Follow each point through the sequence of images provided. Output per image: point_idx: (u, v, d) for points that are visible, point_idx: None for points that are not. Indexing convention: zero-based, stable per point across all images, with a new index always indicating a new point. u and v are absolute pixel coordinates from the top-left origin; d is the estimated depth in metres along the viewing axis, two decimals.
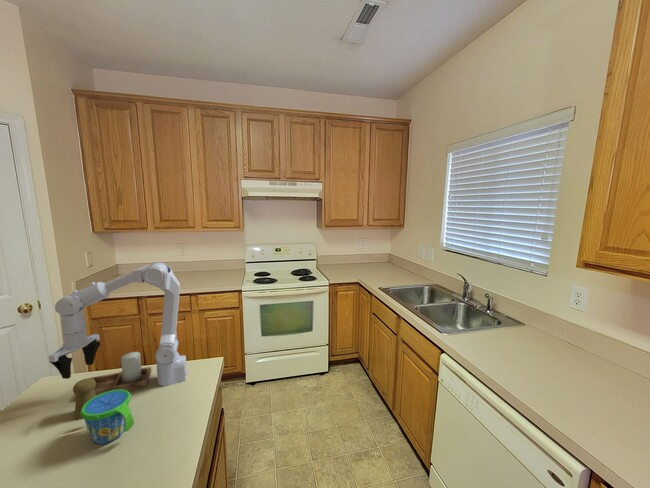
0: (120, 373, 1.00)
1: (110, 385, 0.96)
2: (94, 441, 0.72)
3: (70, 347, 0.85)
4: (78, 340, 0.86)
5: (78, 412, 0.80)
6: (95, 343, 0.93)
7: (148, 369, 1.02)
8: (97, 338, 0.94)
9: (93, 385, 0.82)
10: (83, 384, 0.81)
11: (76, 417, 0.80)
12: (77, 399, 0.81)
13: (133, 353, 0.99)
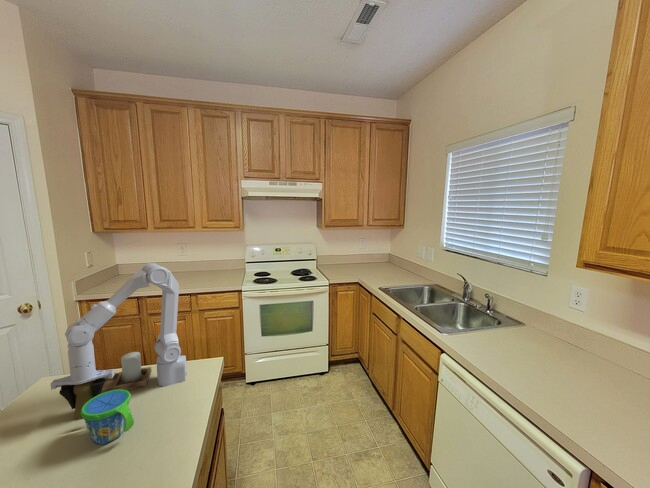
0: (120, 373, 1.00)
1: (110, 385, 0.96)
2: (94, 441, 0.72)
3: (70, 379, 0.80)
4: (74, 375, 0.79)
5: (78, 412, 0.80)
6: (101, 382, 0.82)
7: (148, 369, 1.02)
8: (109, 376, 0.84)
9: None
10: (83, 384, 0.81)
11: (76, 417, 0.80)
12: (77, 399, 0.81)
13: (133, 353, 0.99)
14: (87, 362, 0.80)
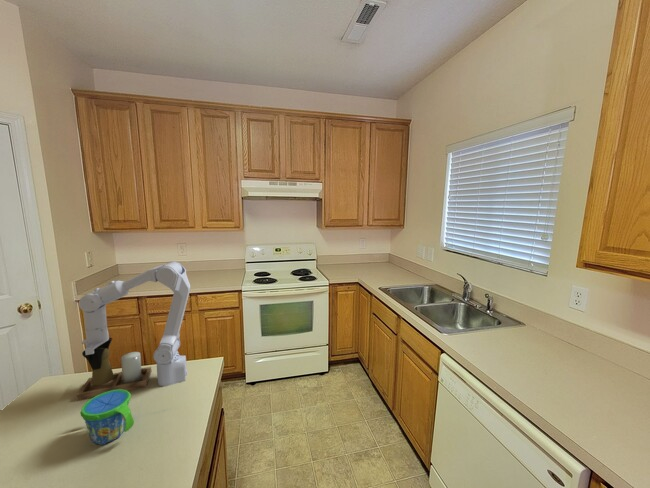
0: (120, 373, 1.00)
1: (110, 385, 0.96)
2: (94, 441, 0.72)
3: (99, 340, 0.91)
4: (105, 333, 0.92)
5: (108, 372, 0.94)
6: (109, 338, 0.98)
7: (148, 369, 1.02)
8: (107, 334, 0.99)
9: None
10: (105, 349, 0.94)
11: (108, 378, 0.93)
12: (105, 363, 0.93)
13: (133, 353, 0.99)
14: (95, 328, 0.90)
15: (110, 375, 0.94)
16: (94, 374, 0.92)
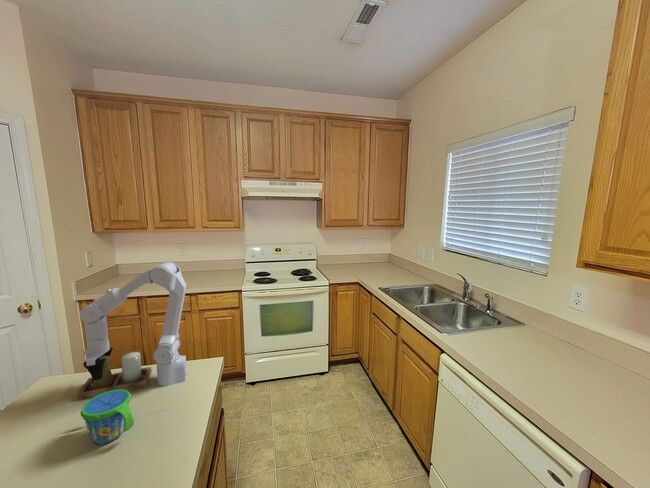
0: (120, 373, 1.00)
1: None
2: (94, 441, 0.72)
3: (99, 351, 0.91)
4: (106, 343, 0.93)
5: (109, 380, 0.94)
6: None
7: (148, 369, 1.02)
8: None
9: None
10: (107, 357, 0.94)
11: (108, 385, 0.94)
12: (106, 371, 0.93)
13: (133, 353, 0.99)
14: (95, 338, 0.90)
15: (111, 383, 0.95)
16: (95, 382, 0.92)
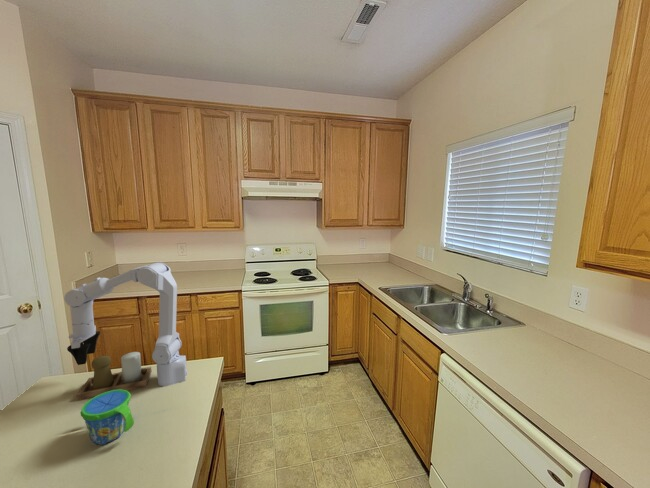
0: (120, 373, 1.00)
1: None
2: (94, 441, 0.72)
3: (85, 334, 0.93)
4: (91, 328, 0.94)
5: (109, 380, 0.94)
6: (96, 332, 1.00)
7: (148, 369, 1.02)
8: (95, 328, 1.01)
9: None
10: (107, 357, 0.95)
11: (108, 385, 0.94)
12: (106, 371, 0.94)
13: (133, 353, 0.99)
14: (79, 322, 0.92)
15: (111, 383, 0.95)
16: (95, 382, 0.92)
